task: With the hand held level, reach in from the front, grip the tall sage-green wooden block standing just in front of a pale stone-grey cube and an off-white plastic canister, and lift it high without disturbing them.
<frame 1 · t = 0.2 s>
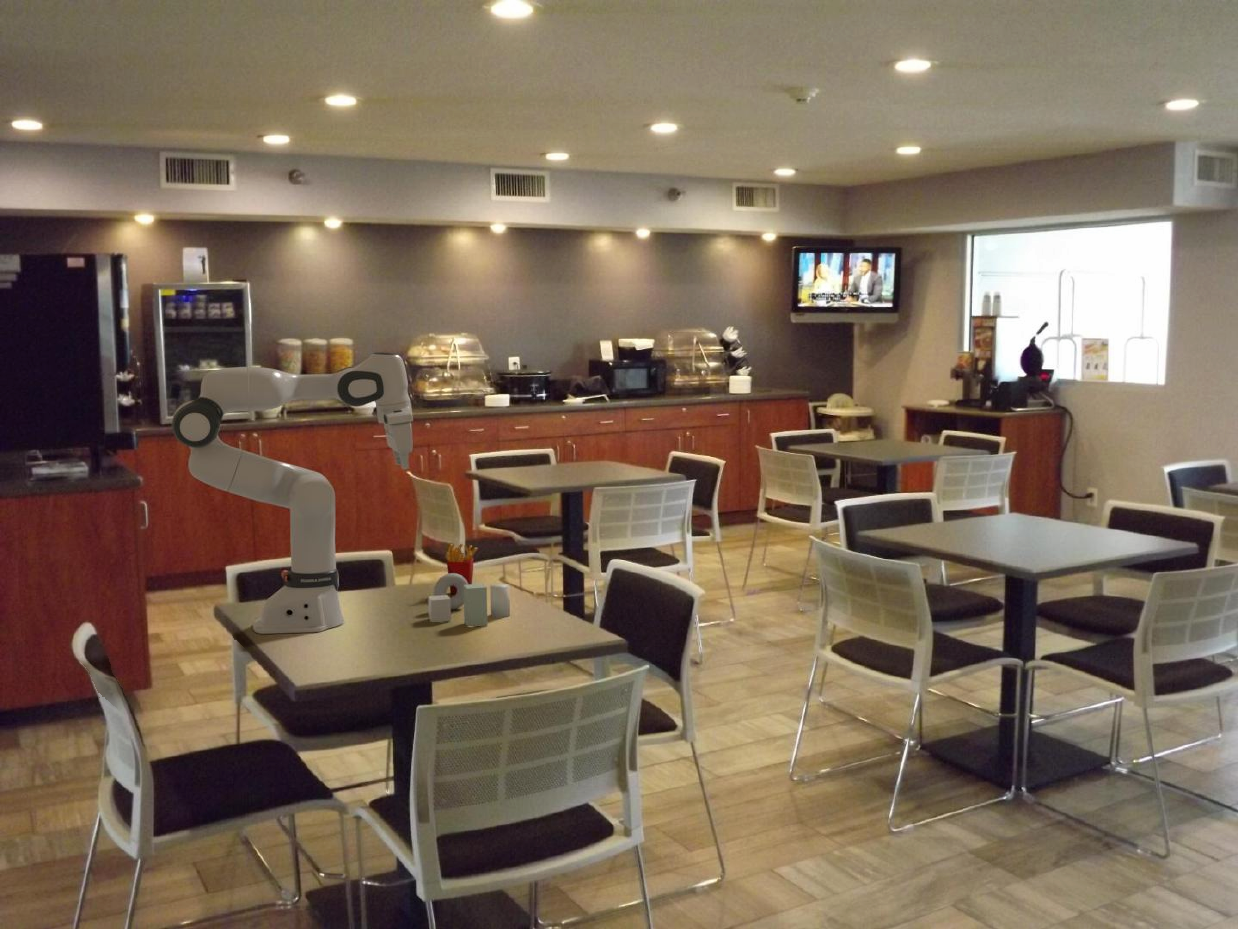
hand: (402, 466, 303), 40 cm above the table, tool pointing down, fingers open, 8 cm apart
grey cube: (439, 620, 304), on the table
french fries: (462, 595, 335), on the table
white canister: (500, 615, 309), on the table
sage block: (475, 624, 299), on the table
donut: (452, 610, 316), on the table
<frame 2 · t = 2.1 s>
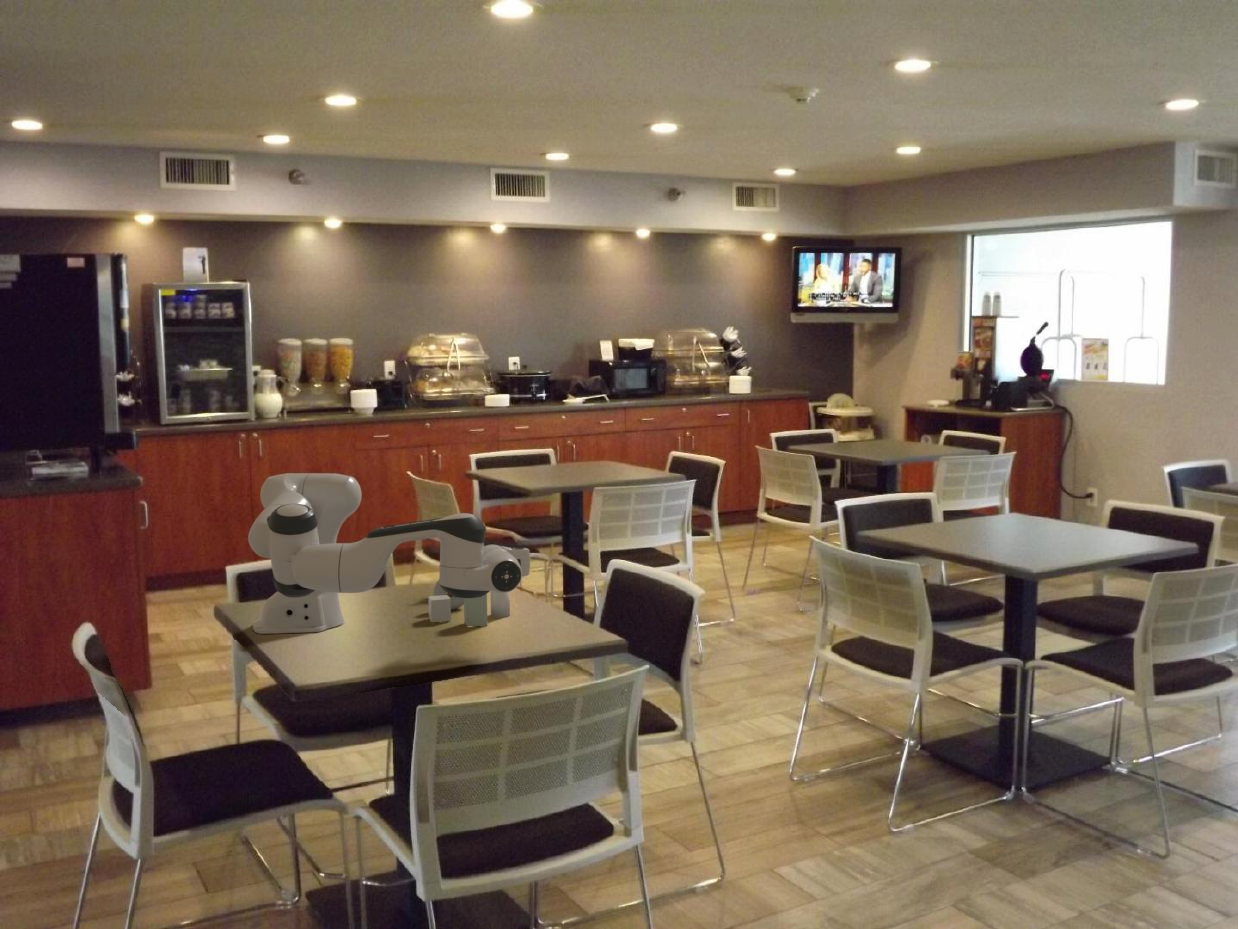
hand: (482, 554, 285), 20 cm above the table, tool horizontal, fingers open, 8 cm apart
nothing on the table moved.
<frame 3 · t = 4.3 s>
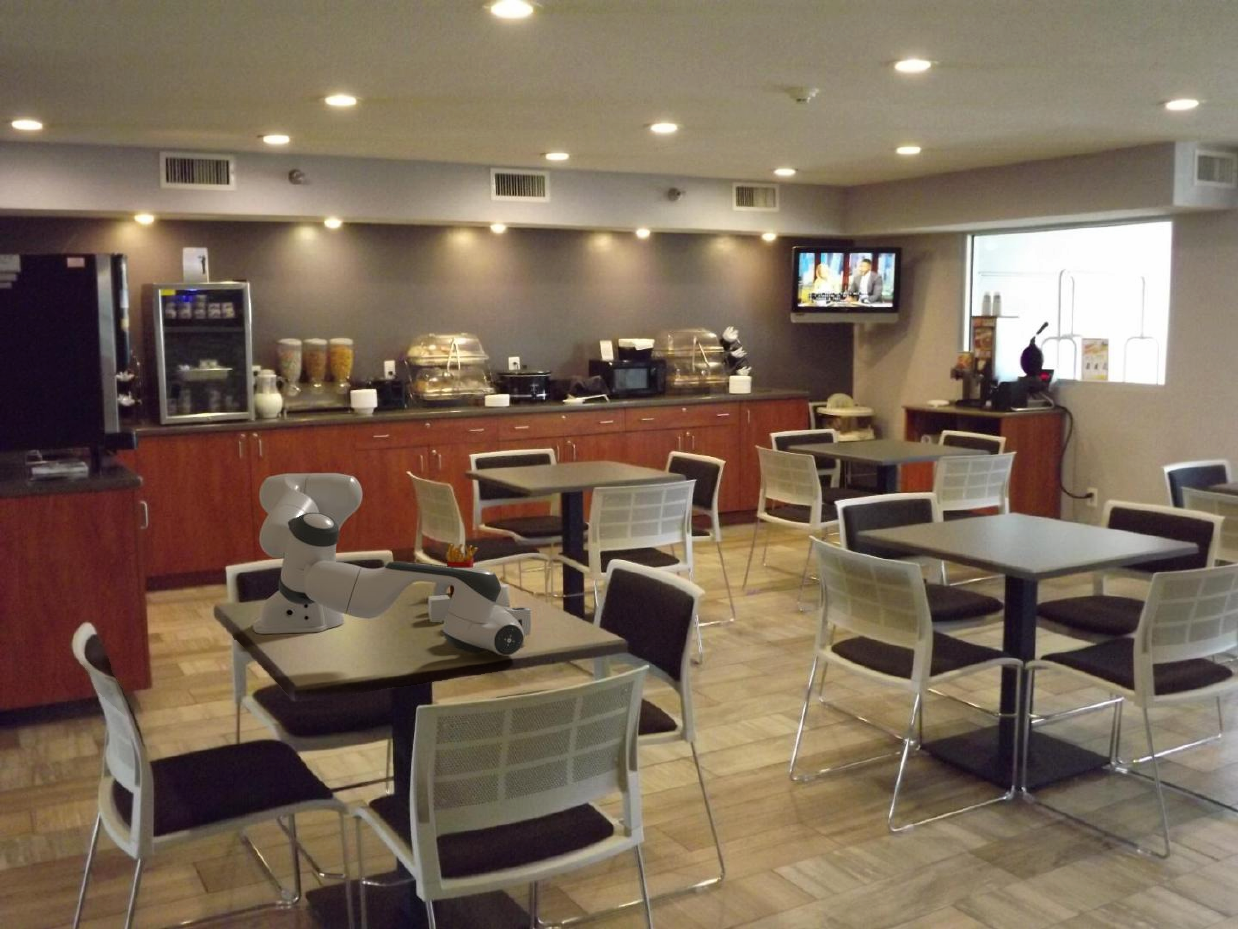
hand: (483, 612, 289), 5 cm above the table, tool horizontal, fingers open, 8 cm apart
nothing on the table moved.
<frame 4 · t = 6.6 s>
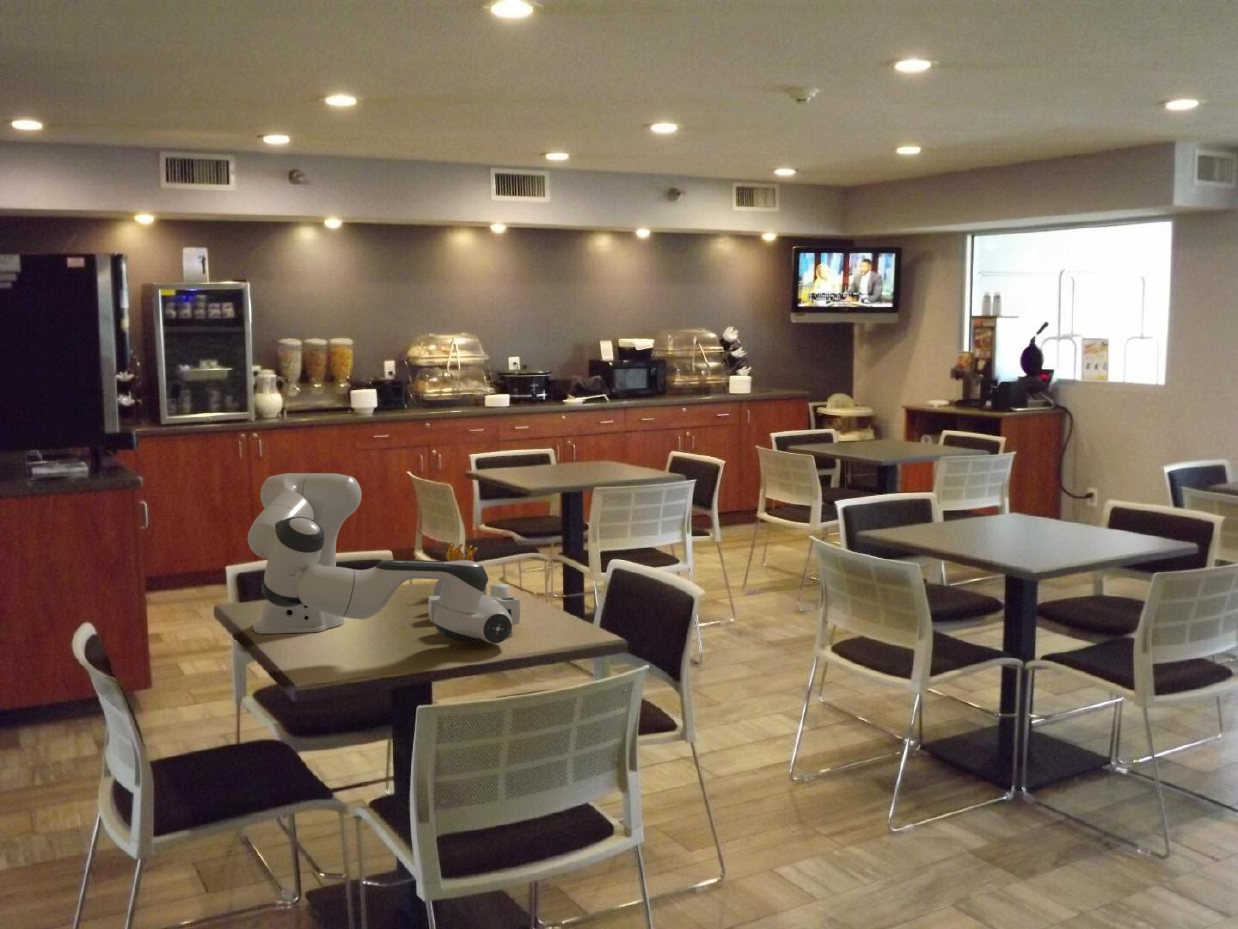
hand: (474, 602, 299), 6 cm above the table, tool horizontal, fingers closed on sage block, 5 cm apart
sage block: (475, 624, 299), on the table, touching gripper
everything else where it was.
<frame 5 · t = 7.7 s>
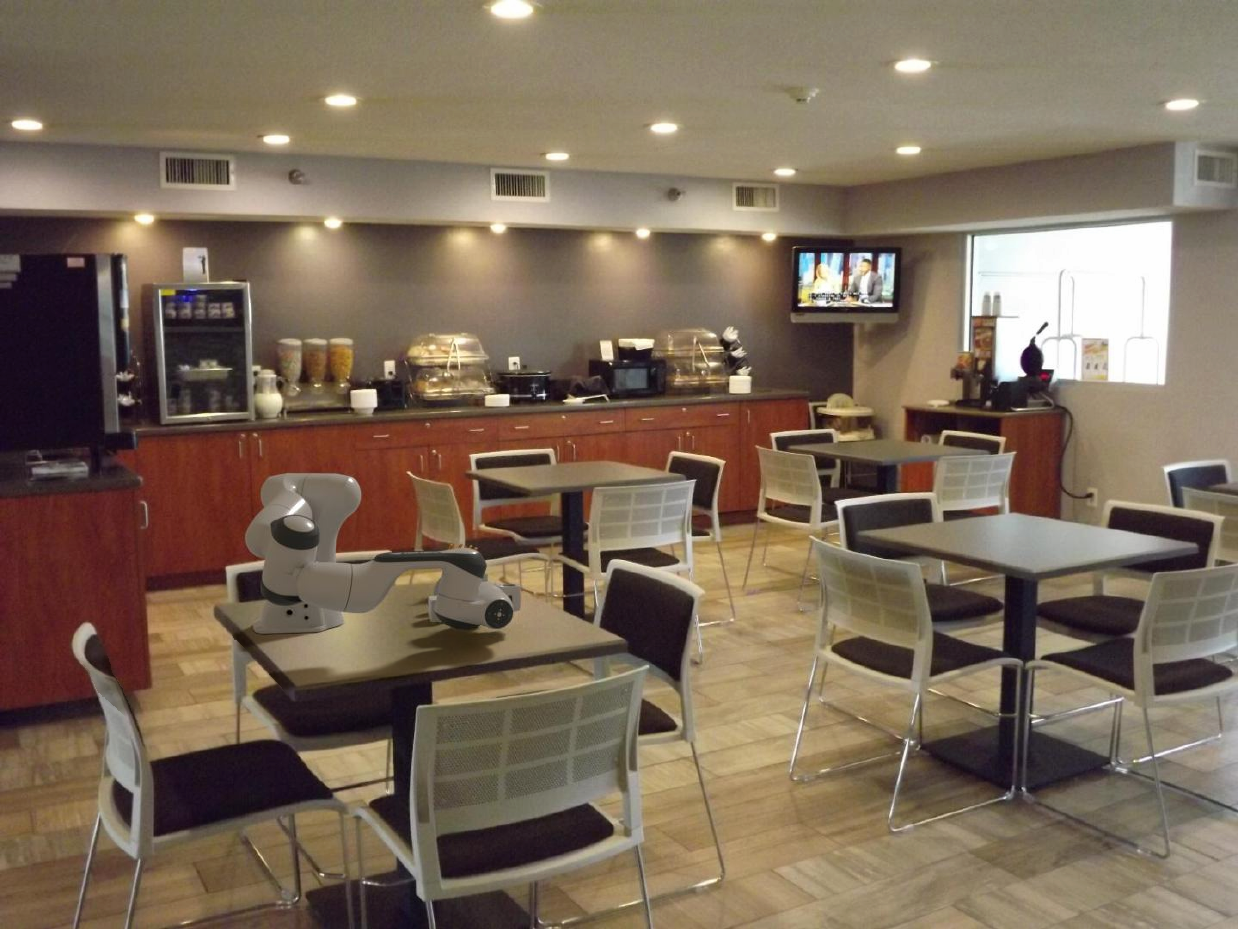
hand: (475, 589, 299), 9 cm above the table, tool horizontal, fingers closed on sage block, 5 cm apart
sage block: (476, 611, 299), point 3 cm above the table, touching gripper
everything else where it was.
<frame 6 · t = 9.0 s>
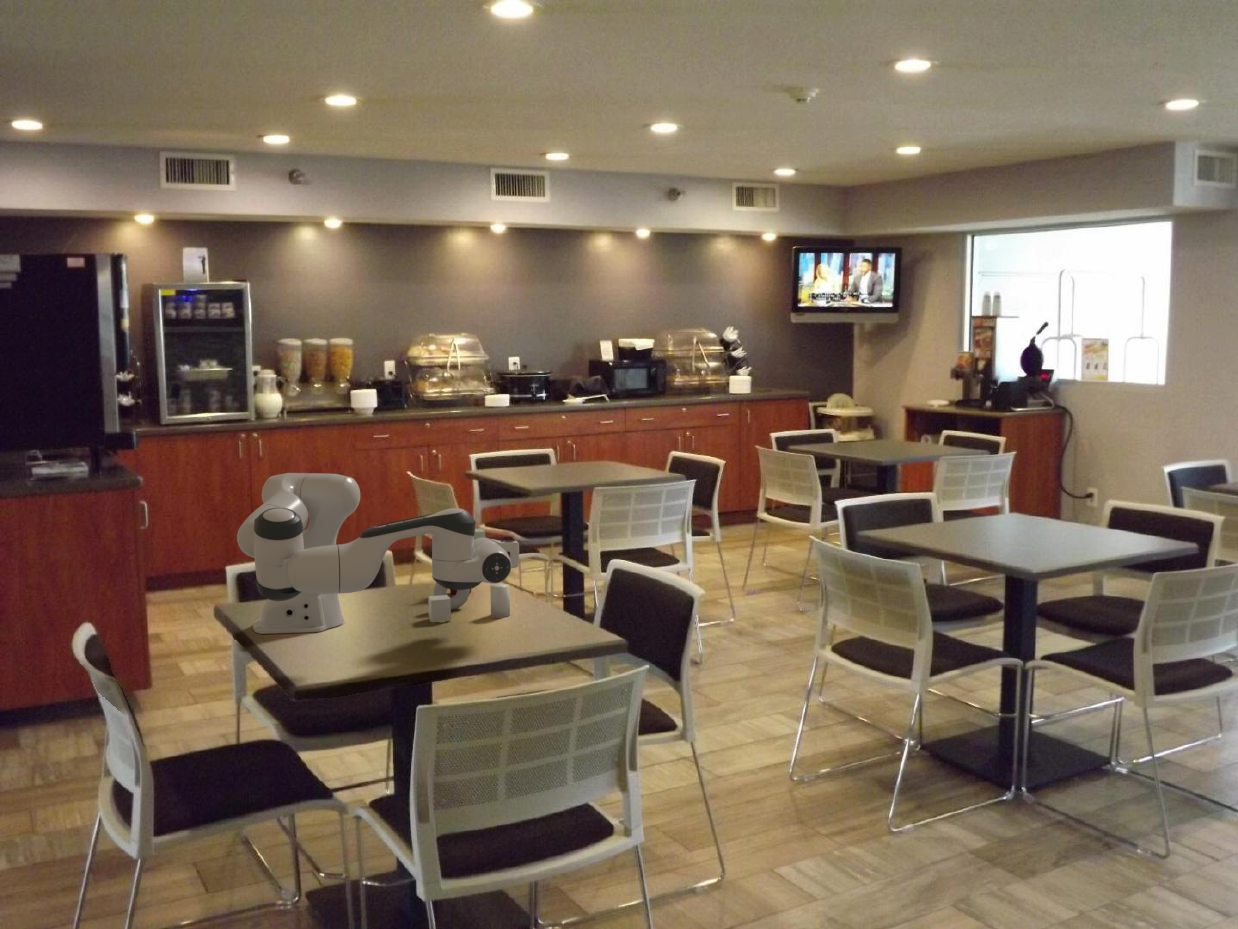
hand: (473, 547, 295), 20 cm above the table, tool horizontal, fingers closed on sage block, 5 cm apart
sage block: (474, 569, 295), point 15 cm above the table, touching gripper
everything else where it was.
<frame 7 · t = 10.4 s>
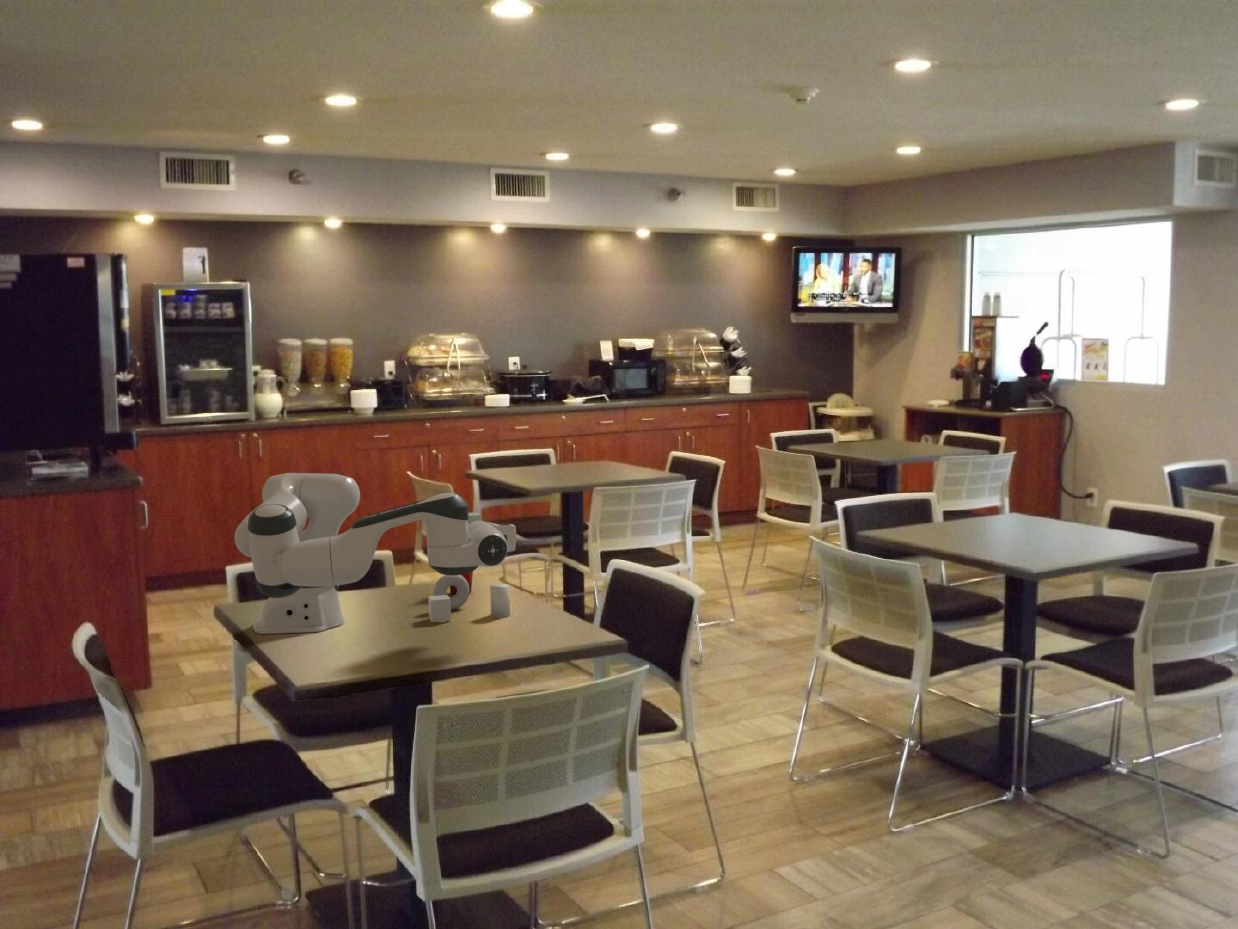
hand: (469, 531, 291), 25 cm above the table, tool horizontal, fingers closed on sage block, 5 cm apart
sage block: (470, 554, 291), point 19 cm above the table, touching gripper
everything else where it was.
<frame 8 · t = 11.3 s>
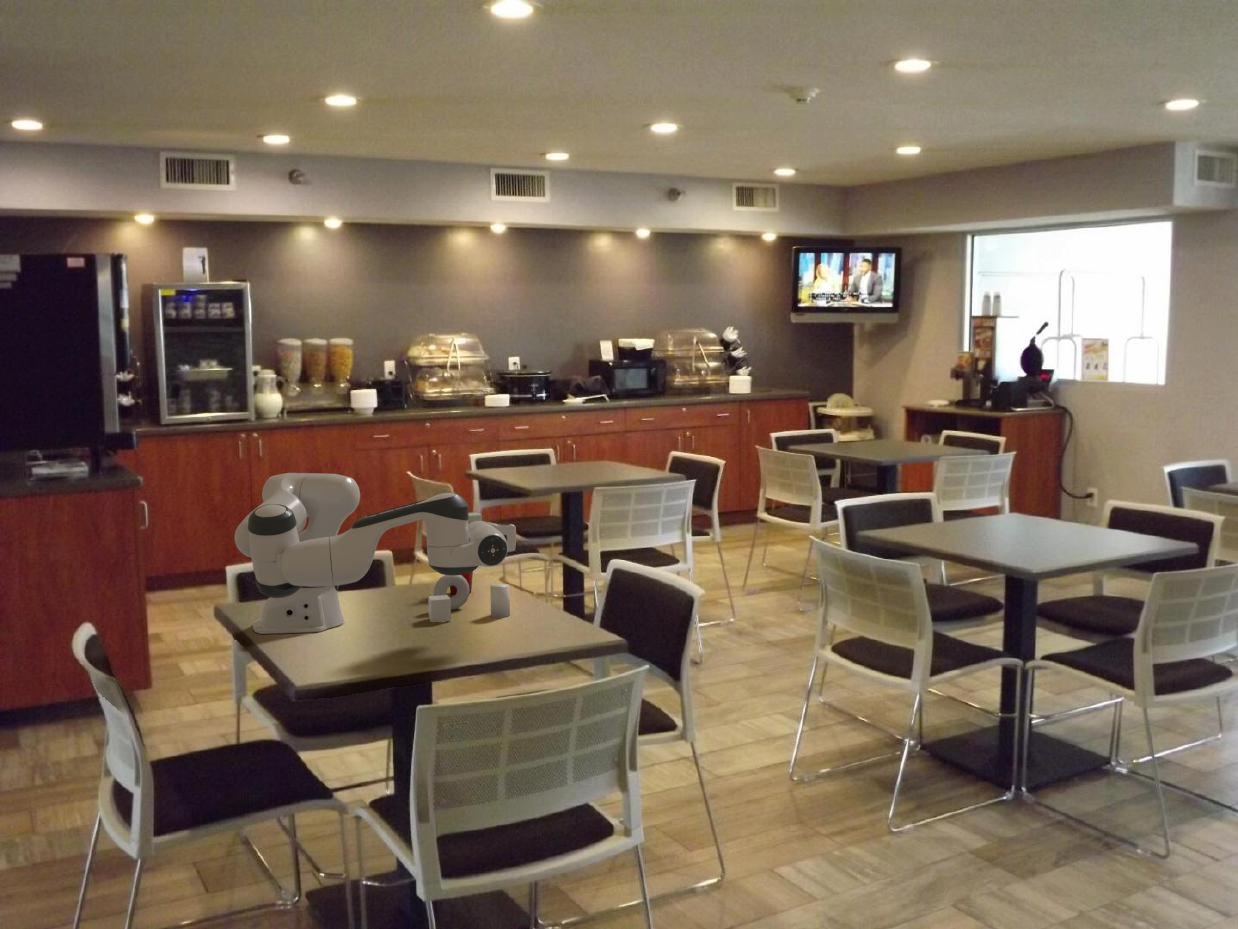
hand: (469, 531, 291), 25 cm above the table, tool horizontal, fingers closed on sage block, 5 cm apart
sage block: (470, 554, 291), point 19 cm above the table, touching gripper
everything else where it was.
at the end: the gripper is holding sage block; sage block point 19.3 cm above the table; white canister moved 0.0 cm from its start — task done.
